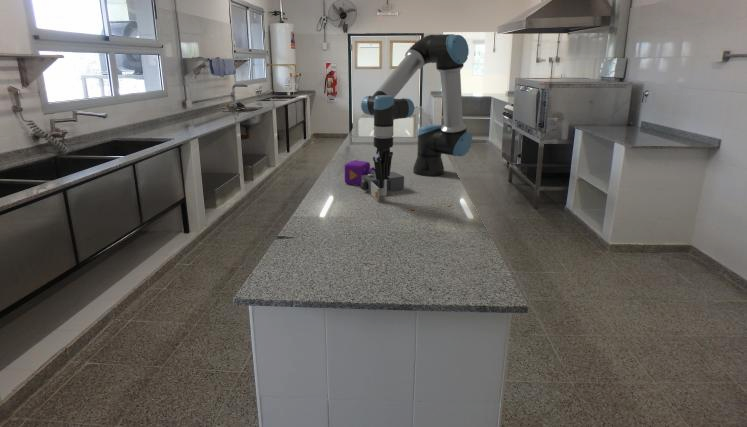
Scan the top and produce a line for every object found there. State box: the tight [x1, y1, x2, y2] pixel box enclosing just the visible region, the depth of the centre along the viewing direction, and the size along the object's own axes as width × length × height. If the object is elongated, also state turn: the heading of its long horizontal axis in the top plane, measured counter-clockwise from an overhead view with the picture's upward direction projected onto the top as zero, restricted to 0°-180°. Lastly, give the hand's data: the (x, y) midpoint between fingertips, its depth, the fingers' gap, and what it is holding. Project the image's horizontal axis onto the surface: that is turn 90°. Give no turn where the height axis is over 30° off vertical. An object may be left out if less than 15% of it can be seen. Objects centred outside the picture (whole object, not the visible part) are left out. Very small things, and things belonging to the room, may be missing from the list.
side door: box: [370, 181, 380, 202], centre depth 199 cm, size 10×2×6 cm, turn 15°
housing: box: [360, 171, 405, 195], centre depth 211 cm, size 18×9×7 cm, turn 117°
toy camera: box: [344, 158, 375, 186], centre depth 220 cm, size 11×14×10 cm
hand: (382, 195), depth 196 cm, fingers closed
